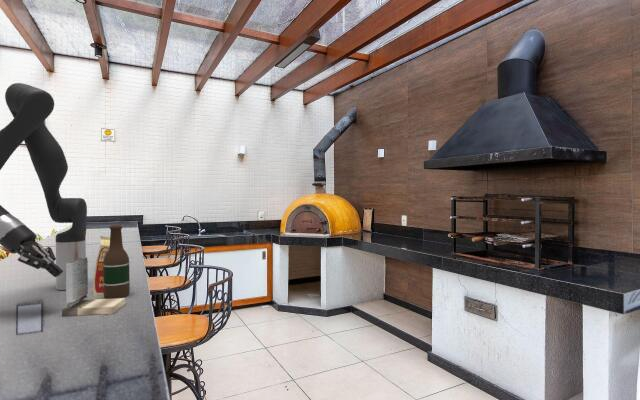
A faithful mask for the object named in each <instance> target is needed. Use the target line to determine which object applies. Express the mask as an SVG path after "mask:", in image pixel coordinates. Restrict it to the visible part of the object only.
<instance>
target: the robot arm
mask: <svg viewBox="0 0 640 400" xmlns="http://www.w3.org/2000/svg"><path fill="white" fill-rule="evenodd" d="M4 99H5V103H6V106H7V107H8V109H9V111H10V113H11V115H12V117H13V119H12V120H11V121H10V122H9V123H8V124H7V125H6V126H4V127H3V128H2V129H0V171H1V170H2V169H3V168H4V166H5V164H6V163H7V161H9V159H10V157H11V156H12V155H13V154H14V152H15V151H16V150H17V148H18V147H20V145H21V144H22V143H24V144H25V146H26V149H27V151H28V154H29V157H30V160H31V163H32V165H33V168H34V171H35V172H36V175H37V177H38V180H39V182H40V186H41V189H42V190H43V193H44V198H45V202H46V206H47V210H48V214H49V217H50V218H51V220H52V221H53V222H55V223H57V224H58V223H59V224H67V223H68V224H71V228H69V229H67V230H66V231H62V232H59V233H57V234H56V235H55V253H54V251H53V249H52V247H50V246H48V247H46V248H45V247H44V246H43V245H42V244H41V243H39V242H37V241H36V239H37V234H36V233H35V232H34V231H33V230H32V229H30V228H29V227H28V226H27V225H26V224H24V223H23V221H21V220H20V219H19V218H17V217H16V216H14V215H13V214H11V213H10V212H9V211H8V210H7V209H6V208H4V206H3V205H1V204H0V245H1V246H2V248H3V249H5V250H6V251H7V252H8V253H10V254H13V255H14V254H18V255H19V257H18V258H17V261H18V262H19V263H22V264H25V265H27V266H29V267H32V268H33V269H37V270H39V269H42V270H46V271H47V273H49V274H50V276H53V277H54V278H55V289H56V290H57V291H66V263H67V262H70V261H73V260H76V259H79V258H87V248H86V246H87V245H86V244H87V243H86V241H87V240H86V235H87V218H88V216H87V215H88V206H87V202H86V200H85V199H84V198H82V197H62V196H61V192H60V187H61V185H62V183H63V181H64V179H65V178H66V175H67V173H68V169H69V165H68V161H67V159H66V156H65V152H64V150H63V148H62V146H61V145H60V143H59V142H58V141H57V139H56V138H55V136H54V135H53V134H52V133H51V132H50V130H49V129H48V127H47V126H46V123H45V121H46V119H48V118H49V116H50V115H51V114H52V112H53V110H54V108H55V99H54V97H53V96H52V94H51V93H50V92H48V91H46V90H44V89H41V88H38V87H36V86H33V85H30V84H27V83H22V82H15V83H12V84H10V85H9V86H8V87H7V88H6V89H5V93H4ZM88 260H89V259H87V272H88V273H89V270H88V269H89V263H88Z"/></svg>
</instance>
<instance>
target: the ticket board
mask: <svg viewBox="0 0 640 400" xmlns="http://www.w3.org/2000/svg"><path fill="white" fill-rule="evenodd" d="M125 306H126V297H124V298H115V299H106V298H99V299H98V298H97V299H84V300H82V301H81V302H79V303H77V304H75V305H74V306H72V307H68V306H65V307H64V308H62V309H61V317H72V316H73V317H75V316H77V317H78V316H92V315H112V314H115V313H116V312H118V311H119V310H121V308H123V307H125Z"/></svg>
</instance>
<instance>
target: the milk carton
mask: <svg viewBox="0 0 640 400" xmlns="http://www.w3.org/2000/svg"><path fill="white" fill-rule="evenodd" d="M99 238H100V246H99V250H98V253H97V257H96V261H95V267H94V274H93V281H92V282H93V283H92V284H93V286H92V287H93V290H92V297H97V296H104V289H103V261H104V257H105V254H106V253H107V251H108V250H109V246H110V236H104V235H100V237H99ZM123 240H124V238H122V241H123Z"/></svg>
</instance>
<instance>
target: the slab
mask: <svg viewBox="0 0 640 400" xmlns="http://www.w3.org/2000/svg"><path fill="white" fill-rule="evenodd" d="M87 260H88V257H86V258H79V259H76V260H73V261H70V262H67V263H66V290H65V292H66V294H65V295H66V297H65V298H66V299H65V300H66V303H68V304H67V306H68V307H72V306H74V305H75V304H77V303H79V302H81V301H82V300H87V298H88V293H89V292H88V291H89V290H88V289H89V288H88V287H89V286H88V285H89V271H88V272H87ZM67 306H66V307H67Z"/></svg>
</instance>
